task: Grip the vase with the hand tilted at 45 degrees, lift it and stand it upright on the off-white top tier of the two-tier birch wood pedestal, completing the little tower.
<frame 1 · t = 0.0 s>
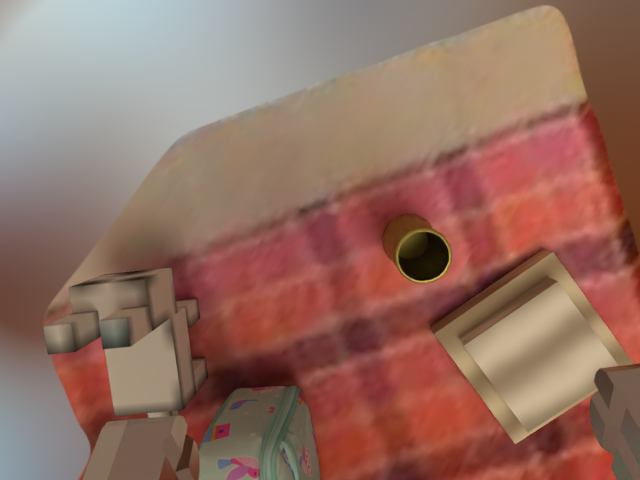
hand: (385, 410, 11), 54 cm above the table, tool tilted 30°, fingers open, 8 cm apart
toy llama: (172, 330, 68), on the table
lunch box: (283, 475, 69), on the table
pedestal: (525, 342, 65), on the table
vase: (408, 240, 65), on the table
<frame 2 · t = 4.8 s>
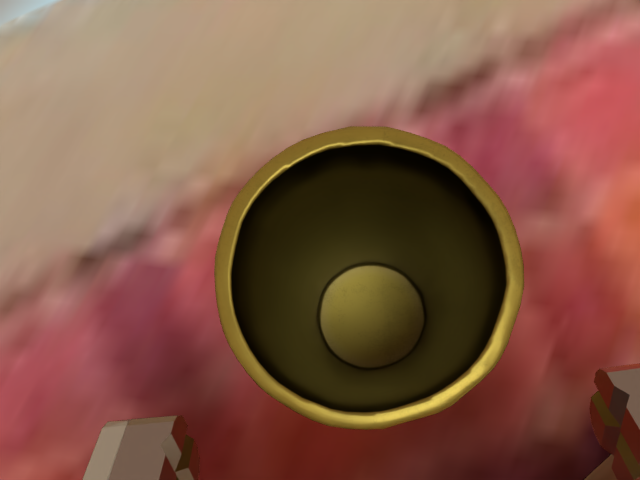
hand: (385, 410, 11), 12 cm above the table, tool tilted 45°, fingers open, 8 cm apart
vase: (370, 316, 23), on the table
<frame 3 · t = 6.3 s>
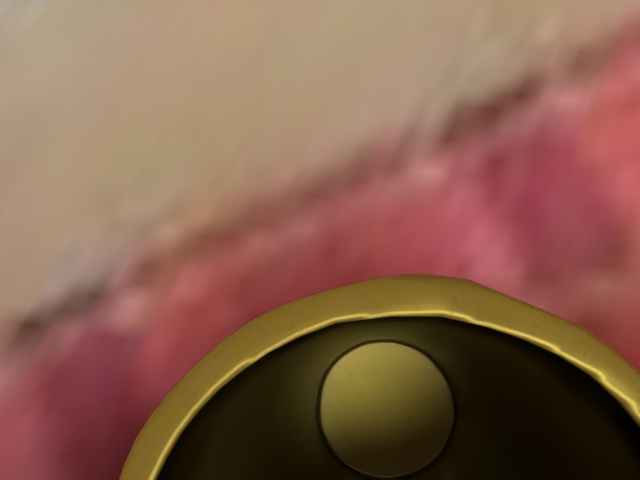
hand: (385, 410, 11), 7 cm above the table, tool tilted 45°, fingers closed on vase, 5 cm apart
vase: (384, 403, 18), on the table, touching gripper
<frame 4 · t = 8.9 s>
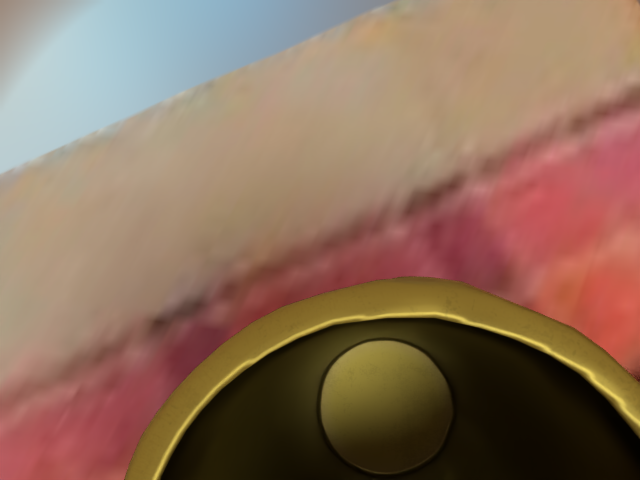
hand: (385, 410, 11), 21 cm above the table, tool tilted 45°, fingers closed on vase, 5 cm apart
vase: (384, 401, 18), point 13 cm above the table, touching gripper
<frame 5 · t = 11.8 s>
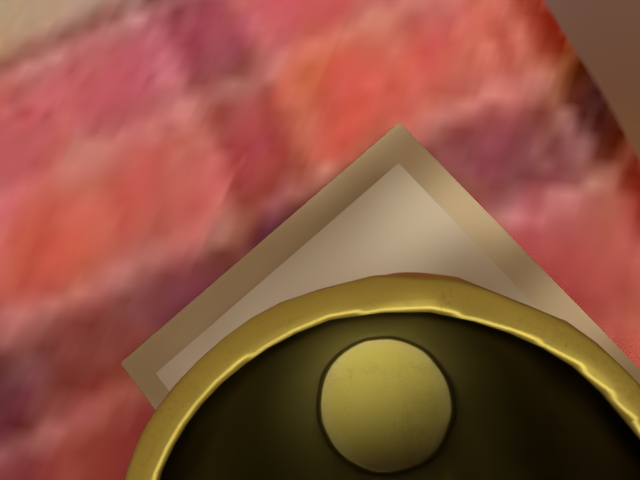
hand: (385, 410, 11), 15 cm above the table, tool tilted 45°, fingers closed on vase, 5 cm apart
pedestal: (383, 380, 25), on the table
vase: (383, 399, 19), point 7 cm above the table, touching gripper
when the fingers open (15 cm above the table, at t = 12.0 s): vase stays where it is, resting on pedestal.
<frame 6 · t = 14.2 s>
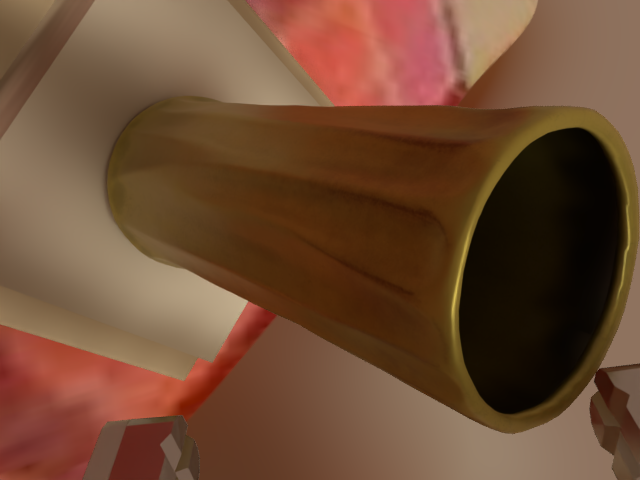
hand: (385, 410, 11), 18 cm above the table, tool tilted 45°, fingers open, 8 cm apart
pedestal: (115, 148, 24), on the table
vase: (190, 182, 20), point 6 cm above the table, touching pedestal
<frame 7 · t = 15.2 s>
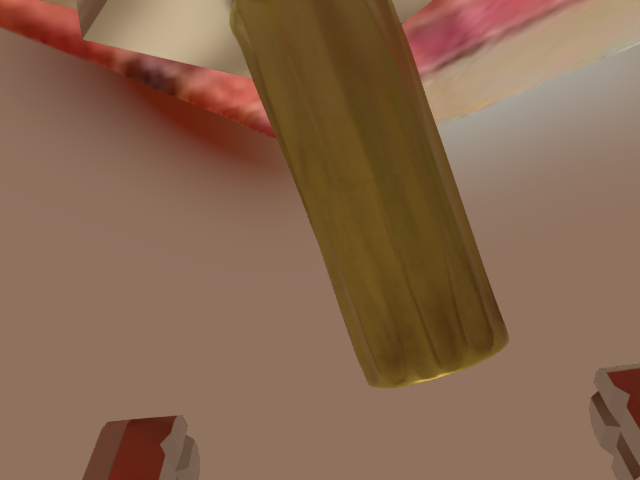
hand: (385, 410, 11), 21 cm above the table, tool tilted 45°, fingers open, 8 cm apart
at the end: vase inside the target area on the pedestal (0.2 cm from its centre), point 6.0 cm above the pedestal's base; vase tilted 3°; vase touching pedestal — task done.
